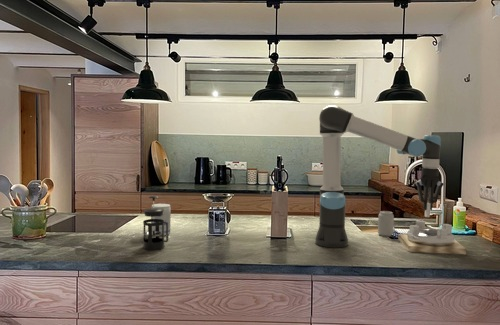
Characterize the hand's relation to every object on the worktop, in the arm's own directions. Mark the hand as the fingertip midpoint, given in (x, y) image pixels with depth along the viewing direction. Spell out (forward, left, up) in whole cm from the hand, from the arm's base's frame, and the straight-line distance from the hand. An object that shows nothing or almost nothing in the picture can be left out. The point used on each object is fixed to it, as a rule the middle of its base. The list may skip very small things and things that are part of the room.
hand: (427, 216), depth 205 cm
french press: (-123, -34, -12) cm, 129 cm away
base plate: (0, -8, -12) cm, 15 cm away
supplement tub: (-129, -10, -12) cm, 130 cm away
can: (-17, +10, -12) cm, 23 cm away
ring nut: (0, -8, -9) cm, 13 cm away
